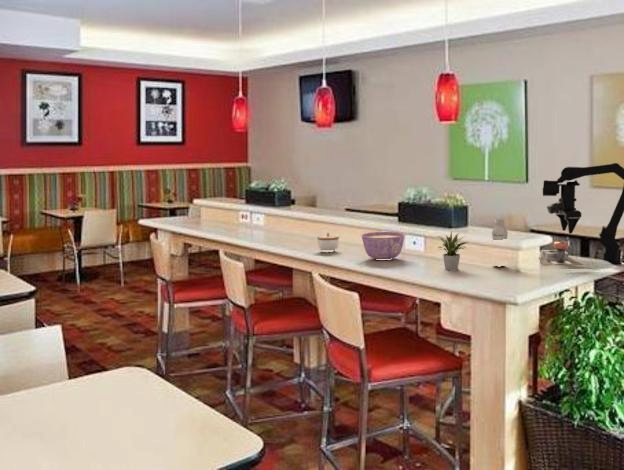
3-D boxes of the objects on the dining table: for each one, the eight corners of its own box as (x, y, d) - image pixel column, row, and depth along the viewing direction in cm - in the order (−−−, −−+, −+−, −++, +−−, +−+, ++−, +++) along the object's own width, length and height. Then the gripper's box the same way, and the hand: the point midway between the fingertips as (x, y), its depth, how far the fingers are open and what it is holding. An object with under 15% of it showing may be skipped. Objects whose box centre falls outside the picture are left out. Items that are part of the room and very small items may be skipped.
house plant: (441, 273, 285) (441, 234, 283) (426, 268, 298) (426, 230, 296) (472, 271, 289) (472, 232, 287) (457, 265, 302) (457, 228, 300)
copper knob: (552, 261, 295) (552, 240, 294) (565, 260, 295) (565, 240, 293) (555, 263, 289) (556, 242, 288) (569, 263, 289) (570, 242, 288)
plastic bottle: (495, 265, 300) (495, 219, 298) (509, 266, 296) (510, 219, 293) (488, 267, 296) (488, 220, 293) (503, 269, 291) (504, 221, 289)
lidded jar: (329, 249, 356) (328, 231, 355) (343, 251, 348) (343, 233, 347) (313, 252, 349) (312, 233, 348) (327, 254, 341) (327, 235, 340)
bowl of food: (404, 263, 311) (404, 237, 310) (359, 263, 314) (359, 237, 313) (405, 255, 331) (405, 231, 329) (363, 255, 334) (363, 231, 332)
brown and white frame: (569, 260, 306) (570, 249, 305) (583, 268, 288) (583, 256, 287) (532, 261, 307) (532, 250, 306) (543, 268, 289) (543, 257, 288)
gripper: (543, 194, 310) (542, 229, 312) (555, 198, 291) (554, 235, 293) (568, 194, 309) (567, 229, 311) (582, 197, 290) (581, 234, 293)
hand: (567, 232), depth 302 cm, fingers open, 9 cm apart
